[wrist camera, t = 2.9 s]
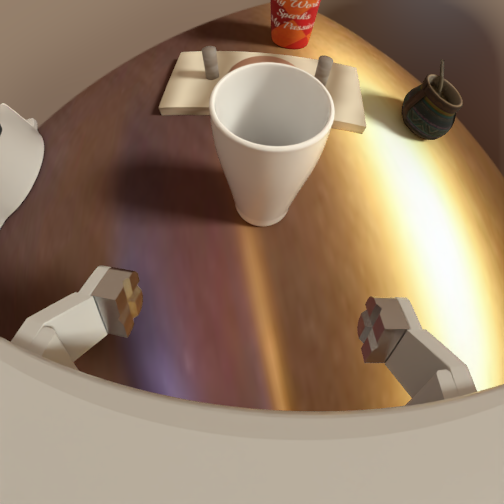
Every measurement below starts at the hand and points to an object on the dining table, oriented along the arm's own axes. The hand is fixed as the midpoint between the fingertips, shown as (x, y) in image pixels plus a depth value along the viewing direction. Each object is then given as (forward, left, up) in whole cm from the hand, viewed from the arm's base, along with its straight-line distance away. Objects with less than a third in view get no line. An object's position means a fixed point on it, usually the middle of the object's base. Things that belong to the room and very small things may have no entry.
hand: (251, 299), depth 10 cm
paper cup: (+2, +38, -17) cm, 42 cm away
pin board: (-1, +26, -16) cm, 31 cm away
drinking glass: (0, +10, -17) cm, 19 cm away
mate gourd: (+20, +25, -17) cm, 36 cm away
